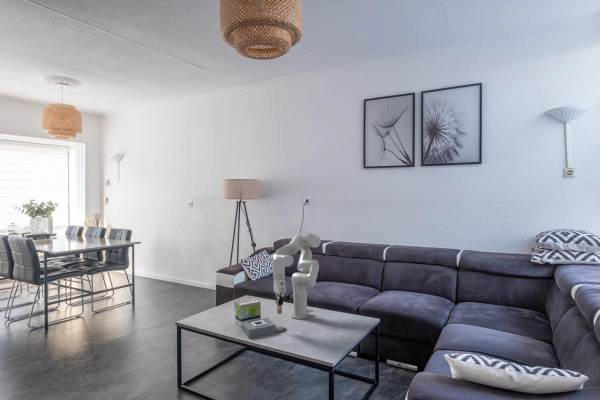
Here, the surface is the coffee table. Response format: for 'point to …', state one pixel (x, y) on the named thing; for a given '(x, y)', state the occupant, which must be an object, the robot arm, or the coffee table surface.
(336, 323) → the coffee table surface
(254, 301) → the tea box
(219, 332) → the coffee table surface
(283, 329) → the coaster
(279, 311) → the stylus
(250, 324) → the grey socket block
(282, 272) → the robot arm
